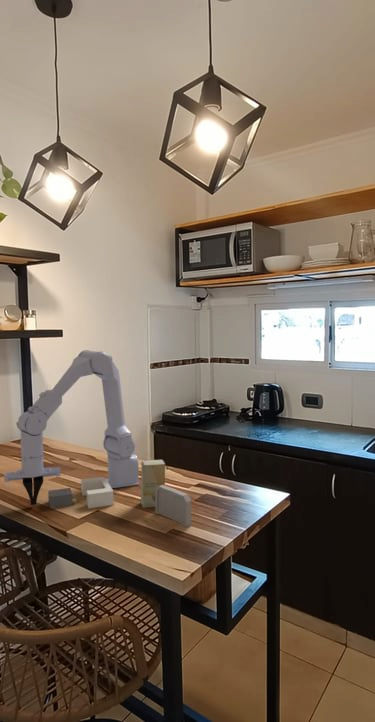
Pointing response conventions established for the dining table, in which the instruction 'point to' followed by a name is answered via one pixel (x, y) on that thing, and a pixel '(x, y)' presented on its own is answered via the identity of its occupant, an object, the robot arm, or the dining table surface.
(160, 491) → the light switch
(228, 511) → the dining table surface
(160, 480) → the skincare box
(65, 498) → the plug
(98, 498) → the socket block
